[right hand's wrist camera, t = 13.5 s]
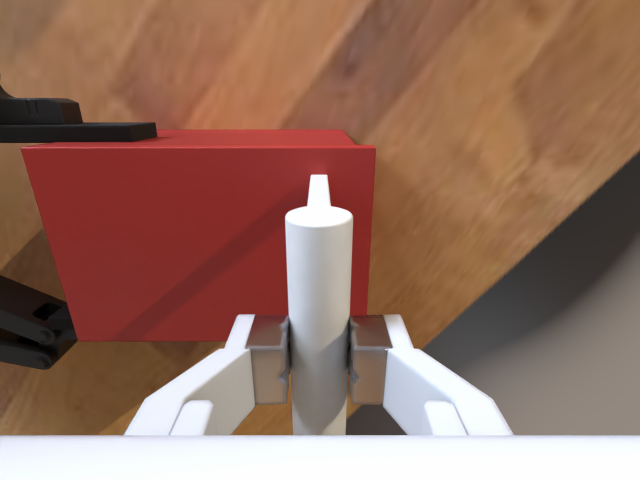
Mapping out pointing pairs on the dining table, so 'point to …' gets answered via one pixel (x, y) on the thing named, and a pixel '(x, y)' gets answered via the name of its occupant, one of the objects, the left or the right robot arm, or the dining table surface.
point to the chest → (236, 138)
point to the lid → (215, 248)
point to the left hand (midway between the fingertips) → (161, 229)
